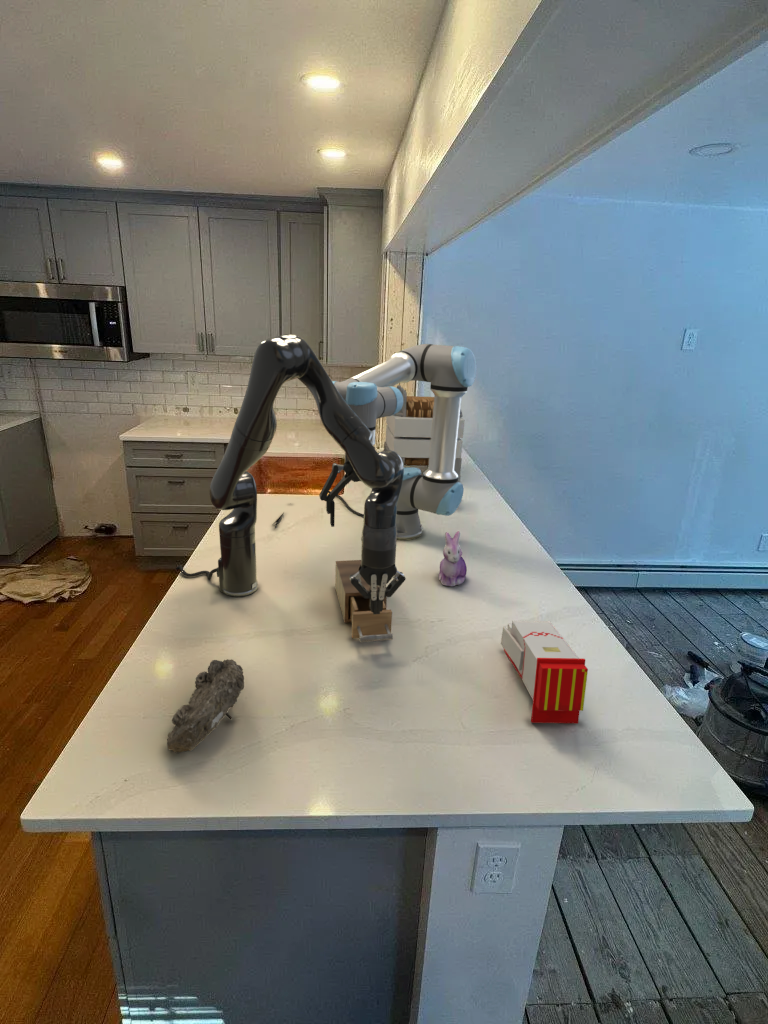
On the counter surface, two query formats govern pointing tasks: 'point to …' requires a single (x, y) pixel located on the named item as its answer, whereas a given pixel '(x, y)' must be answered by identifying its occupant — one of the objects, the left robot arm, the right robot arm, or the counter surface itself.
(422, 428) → the white slatted crate
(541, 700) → the toy
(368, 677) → the counter surface
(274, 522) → the feather
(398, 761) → the counter surface
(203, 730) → the fossil
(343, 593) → the cabinet
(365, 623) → the drawer
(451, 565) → the figurine
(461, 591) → the counter surface
